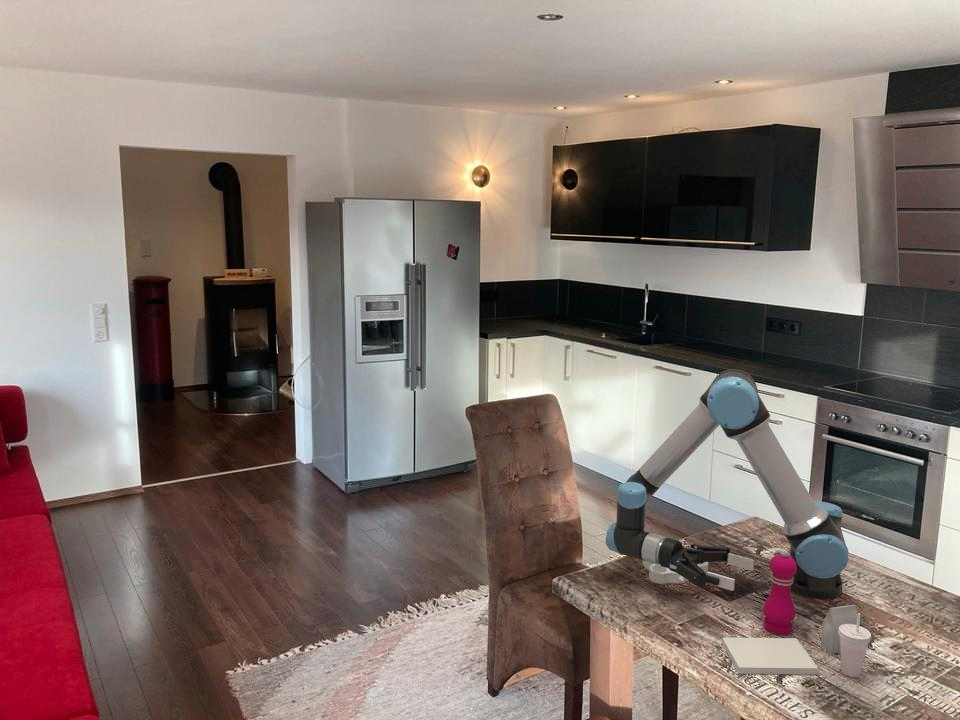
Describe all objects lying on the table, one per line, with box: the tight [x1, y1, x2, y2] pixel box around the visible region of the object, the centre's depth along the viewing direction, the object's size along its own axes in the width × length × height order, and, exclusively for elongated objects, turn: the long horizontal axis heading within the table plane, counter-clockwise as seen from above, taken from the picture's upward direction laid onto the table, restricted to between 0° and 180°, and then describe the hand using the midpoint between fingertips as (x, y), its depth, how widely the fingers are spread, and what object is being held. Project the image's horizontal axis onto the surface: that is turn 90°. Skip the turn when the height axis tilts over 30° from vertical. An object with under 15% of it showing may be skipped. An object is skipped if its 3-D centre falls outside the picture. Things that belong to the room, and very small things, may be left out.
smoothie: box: [838, 612, 872, 678], centre depth 167 cm, size 6×6×14 cm
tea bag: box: [820, 604, 860, 654], centre depth 177 cm, size 4×7×10 cm, turn 104°
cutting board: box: [721, 637, 819, 676], centre depth 173 cm, size 17×12×2 cm
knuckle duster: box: [641, 560, 709, 585], centre depth 214 cm, size 3×18×15 cm
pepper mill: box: [762, 549, 797, 636], centre depth 184 cm, size 7×7×20 cm
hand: (744, 575), depth 189 cm, fingers open, 13 cm apart
